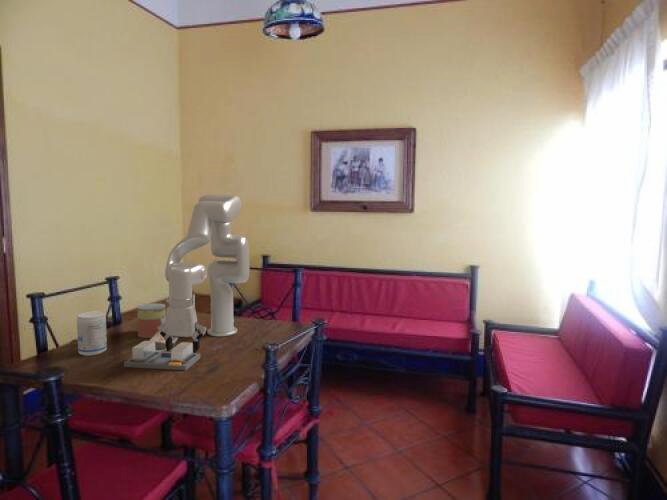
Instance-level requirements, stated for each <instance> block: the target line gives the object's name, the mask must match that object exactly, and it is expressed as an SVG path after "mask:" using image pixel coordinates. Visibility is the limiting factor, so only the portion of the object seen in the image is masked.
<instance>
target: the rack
mask: <svg viewBox="0 0 667 500" xmlns="http://www.w3.org/2000/svg"><path fill="white" fill-rule="evenodd" d="M155 353H156V355H155V356H154V357H152V358H151V359H149V360H148V361H146V362H133V356H131V358H128V359H126V360H125V361H124V362H123V367H124V368H139V369H140V368H141V369H155V370H156V369H157V370H172V371H187V370H188V369H190V367H192V366H193V365H194V364H195V363H197V362H198V361H199V360H200V359H201V353H194V352H193V358H192V359H190V360H189V361H188V362H187V363H186V364H184V365H181V364H182V363H180V362H171V351H159V350H158V351H155Z"/></svg>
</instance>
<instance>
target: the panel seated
mask: <svg viewBox="0 0 667 500" xmlns="http://www.w3.org/2000/svg"><path fill="white" fill-rule="evenodd" d="M131 348H132V349H131V351H132V352H131V353H132V357H133V362H146V361H148V360H149V359H151V358H152V357H154V356H155V355H156V353H155V341H149V340H144V341H141V342H140V343H138V344H137V345H135V346H133V347H131Z"/></svg>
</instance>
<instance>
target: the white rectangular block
mask: <svg viewBox="0 0 667 500" xmlns="http://www.w3.org/2000/svg"><path fill="white" fill-rule="evenodd" d="M170 352H171V362H180V363H182V364H181V365H184V364H186V363H187V362H188V361H189V360H190V359H192V358H193V353H194V352H193V342H186V341H185V342H184V341H182V342H180V343H178V344H177V345H175V346H173V348H172V349H171V350H170Z"/></svg>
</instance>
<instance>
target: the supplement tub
mask: <svg viewBox="0 0 667 500" xmlns="http://www.w3.org/2000/svg"><path fill="white" fill-rule="evenodd" d="M76 318H77V319H76V327H77V328H76V329H77V330H76V331H77V349H78V350H77V351H78V354H80V355H82V356H88V357H89V356H97V355H100V354H102V353H105V351H107V350H108V349H107V348H108V345H107V344H108V340H107V335H108V334H107V317H106V312H104V311H101V310H100V311H99V310H93V311H92V310H91V311H85V312H81V313H79V314H77V316H76Z"/></svg>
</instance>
